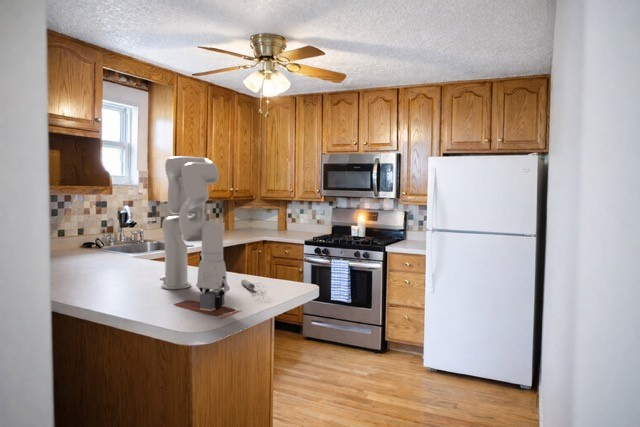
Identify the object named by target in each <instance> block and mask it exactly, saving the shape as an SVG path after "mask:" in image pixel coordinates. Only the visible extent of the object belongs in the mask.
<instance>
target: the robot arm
mask: <svg viewBox="0 0 640 427" xmlns="http://www.w3.org/2000/svg"><path fill="white" fill-rule="evenodd" d="M164 166H165V167H164V168H165V173H166V177H167V181H168V183H167V184H168V186H167V187H168V188H167V200H166V201H167V203H166V204H167V211H168V212H169V213H170V214H175V215H170V216H167V217H165V218H164V219H163V221H162V223H161V224H162V225H161V227H162V232H163V234H162V235H163V240H164V242H163V243H164V275H162V276H161V277H159V280H160V281H161V282H163V283H162V284H161V288H162V289H164V290H165V289H166V290H182V289H186V288H190V287H191V286H192V282H191V281H188V246H187V244H186V243H185V242H184V241H186V242H188V243H189V242H192V243H193V242H201V252H200V253H199V255H200V257H201V259H200V261H199V264H198V269H197V282H196V285H195V287H196V288H197V289H198V290H199V291H200V293H201V294H203V293H206V292H209V291H212V290H215V292H216V298H215V308H216V309H217V308H220V307H222V296H224V297H225V294H226V293H227V292H228V291H230V286H229V284H228V283H227V282H228V281H227V267H226V262H225V260H224V225H223V224H222V223H220V222H217V221H215V220H205V212H206V211H205V208H206V202H207V201H208V200H209V199H210V195H209V189H208V186H207V184H208V185H209V184H212V185H213V184H216V183H217V182H218V181H219V177H220V174H219V173H220V172H219V169H218V166H217V165H216V164H215V163H214V162H213V161H212V160H210V159H208V158H207V157H199V156H198V157H197V156H183V155H182V156H181V155H179V156H177V155H176V156H175V155H174V156H169V157H167V159H166V160H165V164H164ZM182 238H183V239H182ZM219 291H220V293H219Z"/></svg>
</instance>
